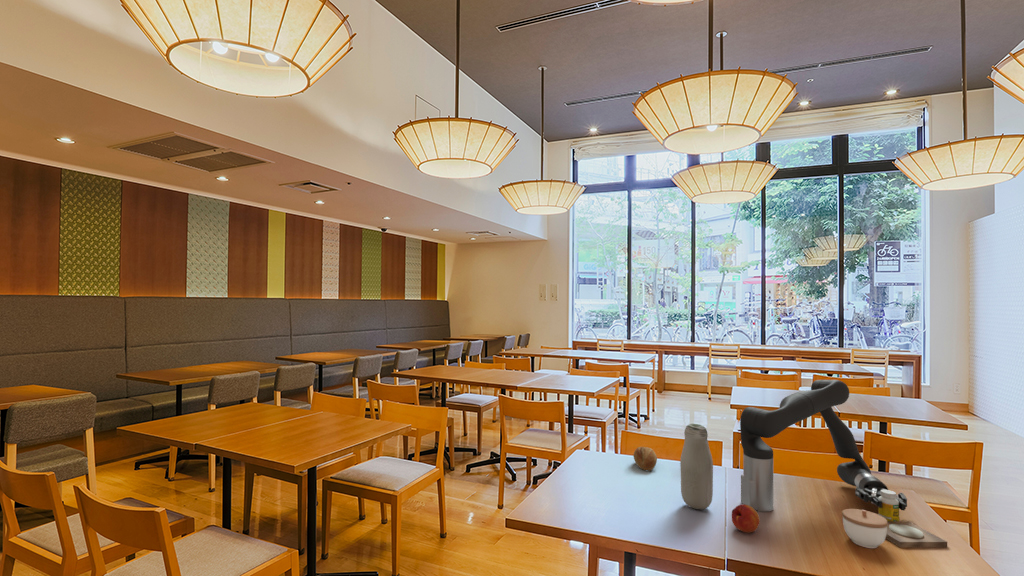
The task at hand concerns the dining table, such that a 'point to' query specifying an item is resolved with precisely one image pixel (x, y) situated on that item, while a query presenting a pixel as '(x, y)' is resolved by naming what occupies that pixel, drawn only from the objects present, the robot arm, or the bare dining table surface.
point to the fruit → (745, 518)
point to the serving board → (911, 535)
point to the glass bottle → (696, 468)
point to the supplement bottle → (889, 506)
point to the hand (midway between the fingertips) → (892, 506)
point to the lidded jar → (865, 527)
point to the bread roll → (645, 458)
